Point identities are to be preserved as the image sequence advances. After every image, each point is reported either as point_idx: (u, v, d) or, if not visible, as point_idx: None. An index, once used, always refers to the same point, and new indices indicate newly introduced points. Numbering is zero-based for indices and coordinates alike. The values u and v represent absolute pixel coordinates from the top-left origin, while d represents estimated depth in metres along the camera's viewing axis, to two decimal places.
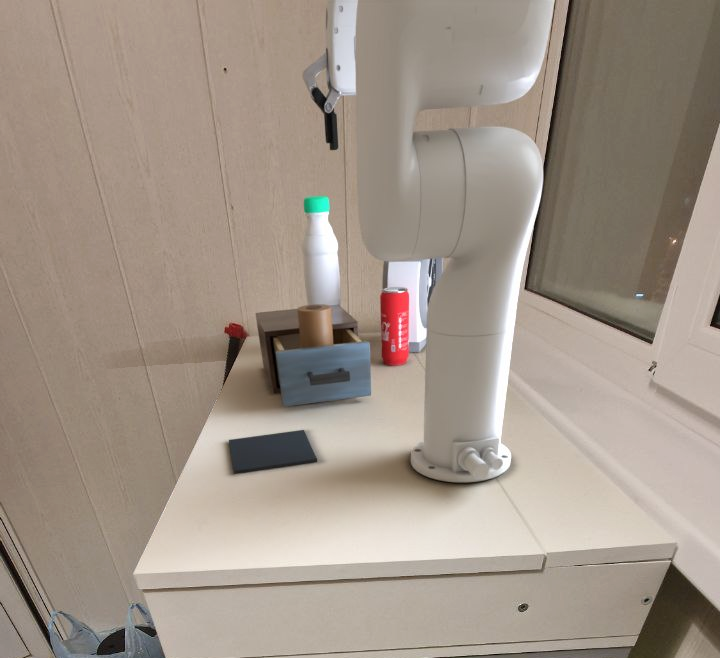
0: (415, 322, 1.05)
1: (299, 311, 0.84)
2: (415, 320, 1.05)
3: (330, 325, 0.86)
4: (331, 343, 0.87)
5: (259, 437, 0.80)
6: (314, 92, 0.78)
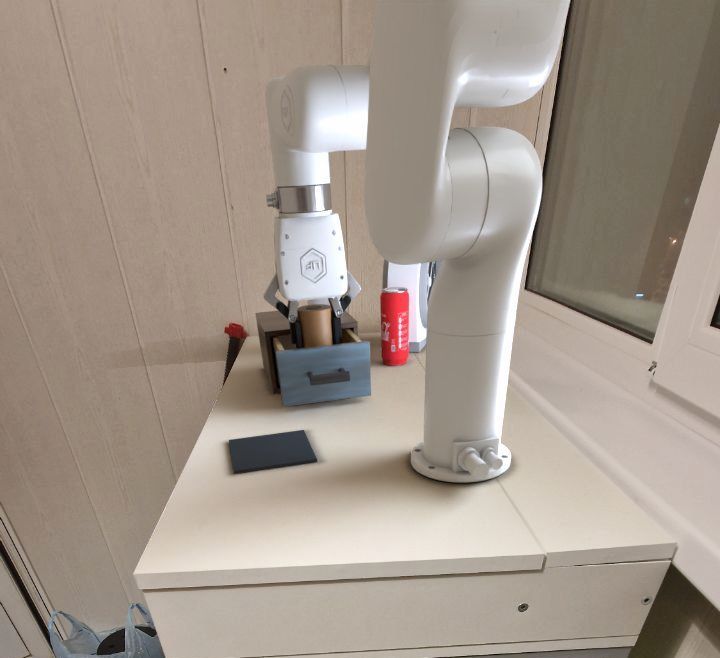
0: (415, 322, 1.05)
1: (299, 311, 0.84)
2: (415, 320, 1.05)
3: (330, 325, 0.86)
4: (331, 343, 0.87)
5: (259, 437, 0.80)
6: (279, 306, 0.83)
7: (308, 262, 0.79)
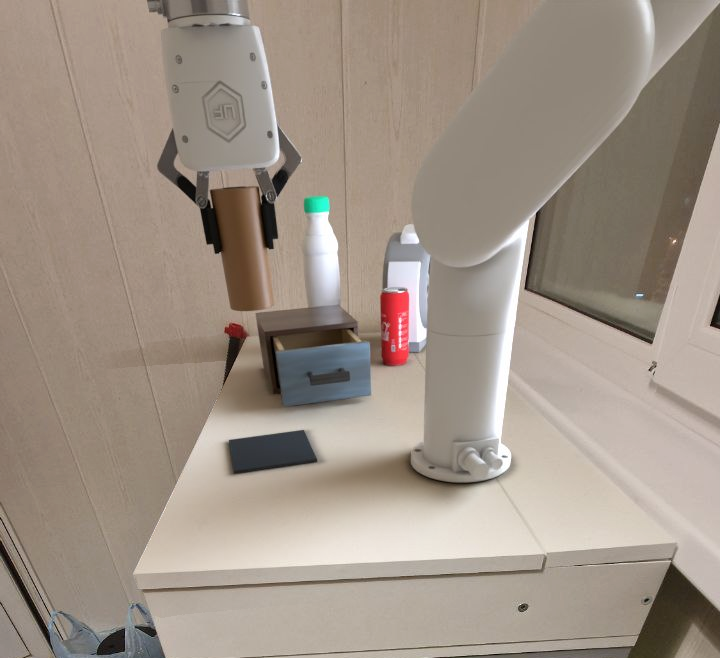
0: (415, 322, 1.05)
1: (212, 191, 0.58)
2: (415, 320, 1.05)
3: (259, 215, 0.60)
4: (262, 243, 0.61)
5: (259, 437, 0.80)
6: (180, 182, 0.57)
7: (216, 106, 0.53)
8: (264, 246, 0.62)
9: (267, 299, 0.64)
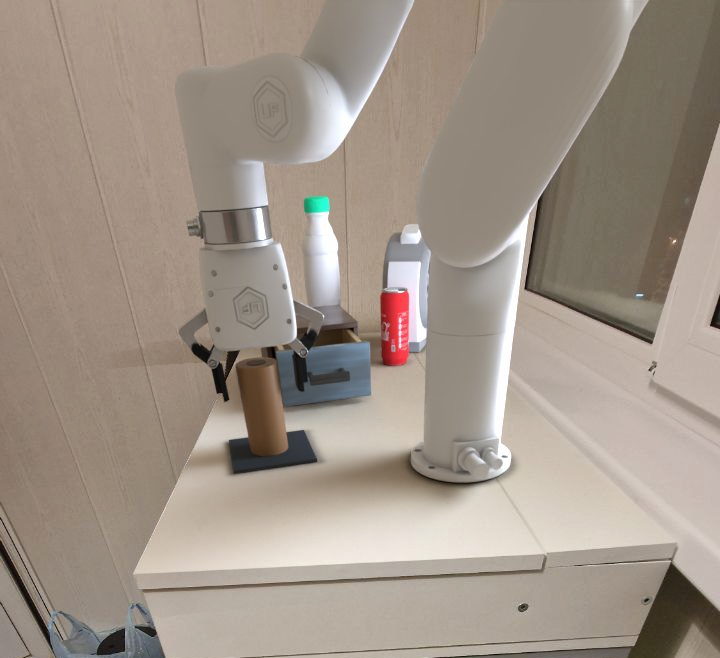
0: (415, 322, 1.05)
1: (237, 368, 0.68)
2: (415, 320, 1.05)
3: (277, 384, 0.70)
4: (279, 404, 0.71)
5: None
6: (194, 349, 0.66)
7: (244, 304, 0.62)
8: (281, 406, 0.72)
9: (283, 445, 0.75)
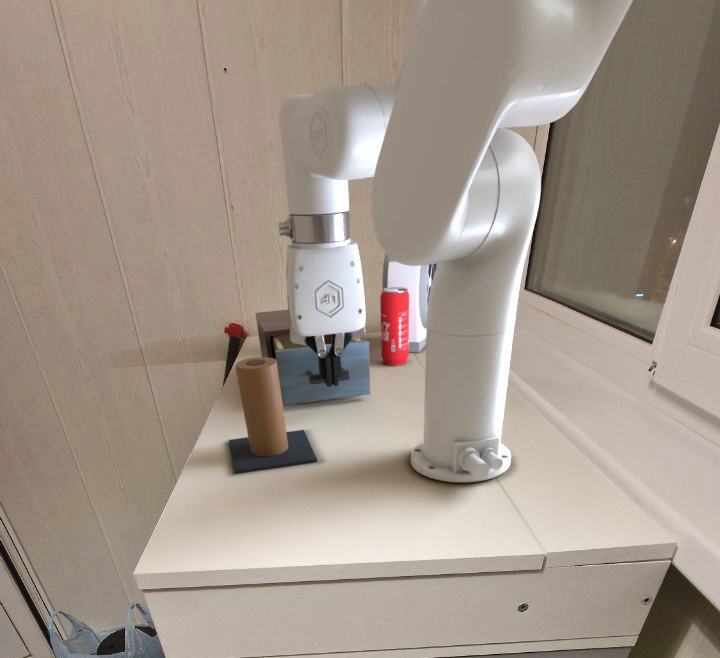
0: (415, 322, 1.05)
1: (237, 368, 0.68)
2: (415, 320, 1.05)
3: (277, 384, 0.70)
4: (279, 404, 0.71)
5: None
6: (308, 341, 0.77)
7: (324, 295, 0.72)
8: (281, 406, 0.72)
9: (283, 445, 0.75)
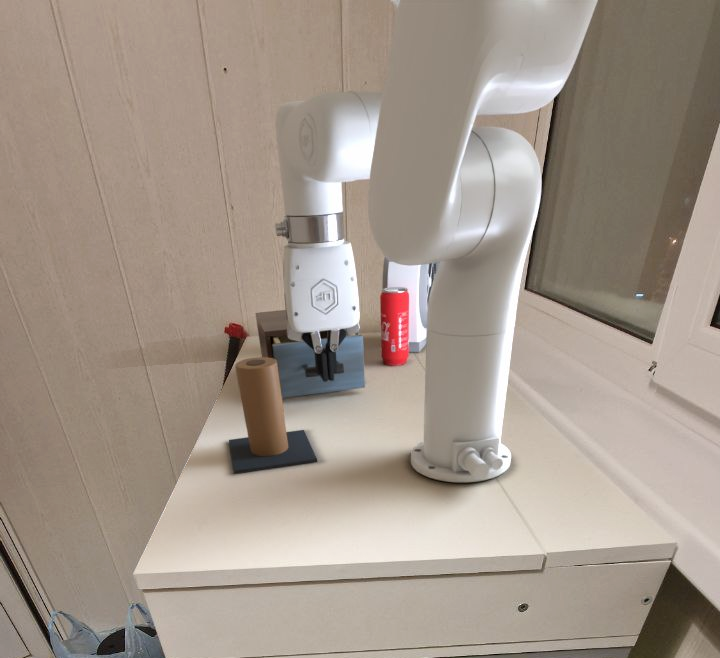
0: (415, 322, 1.05)
1: (237, 368, 0.68)
2: (415, 320, 1.05)
3: (277, 384, 0.70)
4: (279, 404, 0.71)
5: None
6: (305, 337, 0.80)
7: (319, 293, 0.75)
8: (281, 406, 0.72)
9: (283, 445, 0.75)
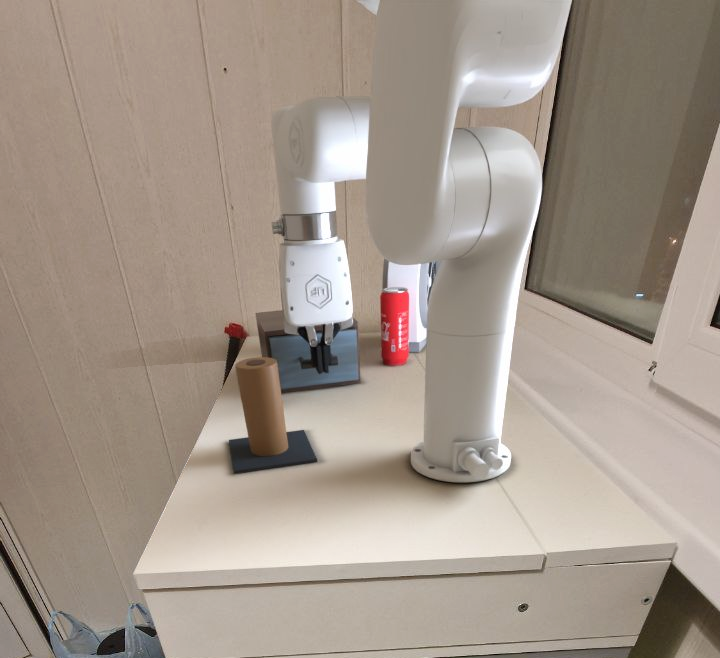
0: (415, 322, 1.05)
1: (237, 368, 0.68)
2: (415, 320, 1.05)
3: (277, 384, 0.70)
4: (279, 404, 0.71)
5: None
6: (300, 331, 0.83)
7: (313, 288, 0.79)
8: (281, 406, 0.72)
9: (283, 445, 0.75)
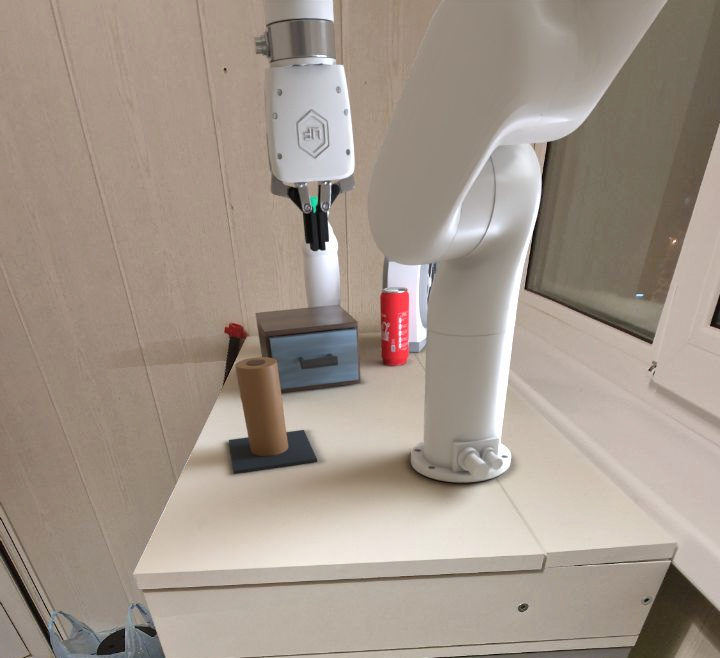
0: (415, 322, 1.05)
1: (237, 368, 0.68)
2: (415, 320, 1.05)
3: (277, 384, 0.70)
4: (279, 404, 0.71)
5: None
6: (291, 192, 0.69)
7: (306, 129, 0.64)
8: (281, 406, 0.72)
9: (283, 445, 0.75)
